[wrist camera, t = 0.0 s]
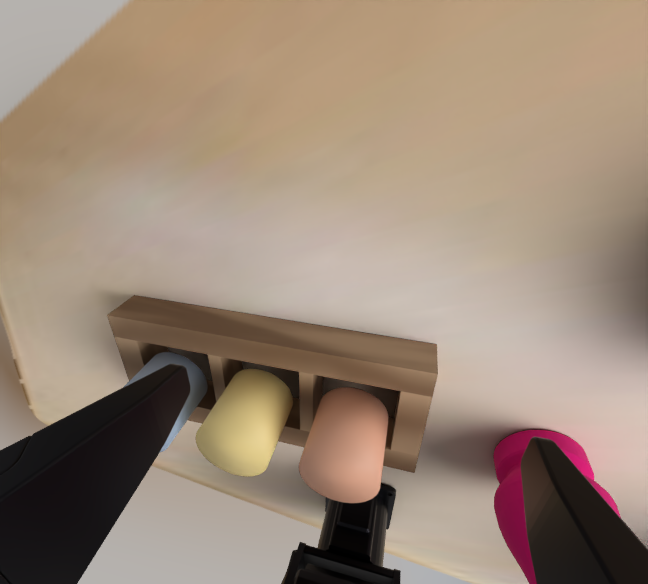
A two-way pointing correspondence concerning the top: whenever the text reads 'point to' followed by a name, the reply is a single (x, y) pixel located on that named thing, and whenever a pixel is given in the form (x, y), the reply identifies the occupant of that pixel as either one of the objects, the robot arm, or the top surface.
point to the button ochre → (246, 423)
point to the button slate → (196, 386)
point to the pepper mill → (511, 489)
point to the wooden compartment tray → (286, 362)
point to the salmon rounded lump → (346, 446)
